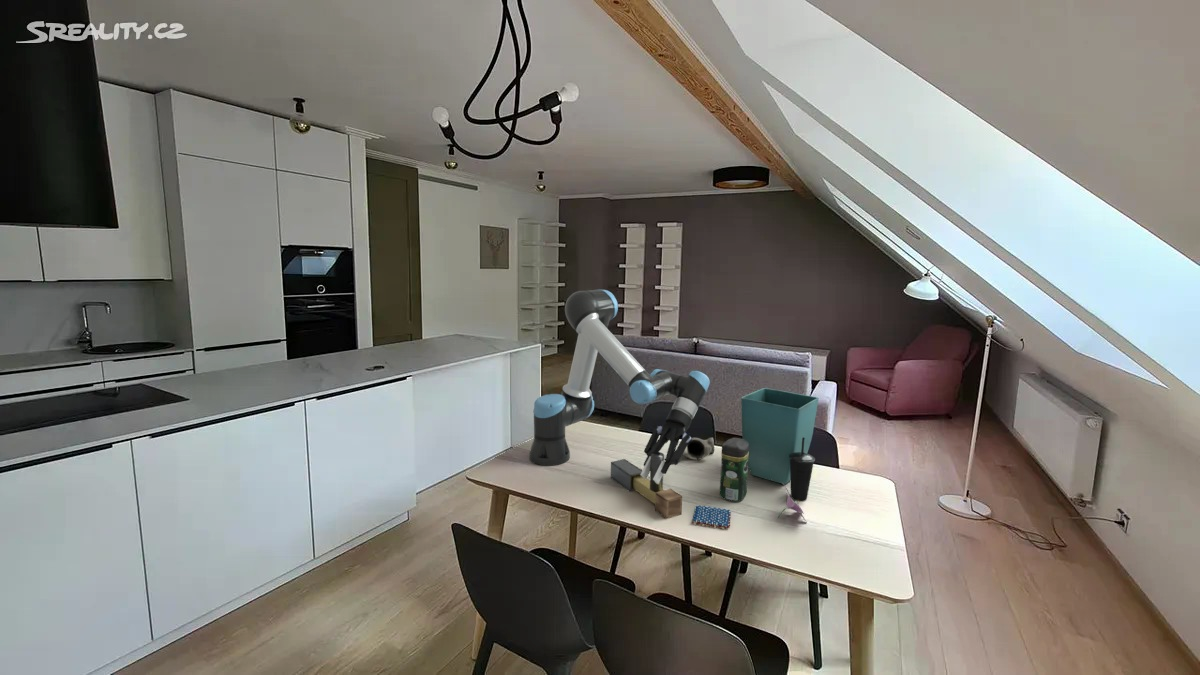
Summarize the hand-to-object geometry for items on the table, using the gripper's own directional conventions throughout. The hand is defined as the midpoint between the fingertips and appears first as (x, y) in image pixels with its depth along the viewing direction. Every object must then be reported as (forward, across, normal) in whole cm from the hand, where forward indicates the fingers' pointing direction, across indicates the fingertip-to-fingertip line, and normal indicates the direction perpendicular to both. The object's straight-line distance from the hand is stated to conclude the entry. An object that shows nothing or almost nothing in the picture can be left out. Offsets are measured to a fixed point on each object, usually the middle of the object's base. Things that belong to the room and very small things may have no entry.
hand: (649, 479), depth 154 cm
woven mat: (+2, -18, -12) cm, 22 cm away
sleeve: (0, +16, -13) cm, 20 cm away
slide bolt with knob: (+2, +3, -9) cm, 10 cm away
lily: (-11, -35, -24) cm, 43 cm away
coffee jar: (-11, -15, -24) cm, 31 cm away
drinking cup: (-21, -31, -34) cm, 51 cm away
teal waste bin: (-29, -18, -42) cm, 54 cm away
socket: (+5, -6, -8) cm, 11 cm away
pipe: (-26, +11, -39) cm, 48 cm away
